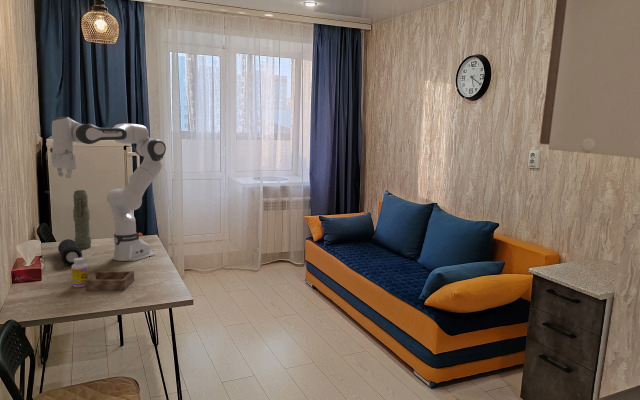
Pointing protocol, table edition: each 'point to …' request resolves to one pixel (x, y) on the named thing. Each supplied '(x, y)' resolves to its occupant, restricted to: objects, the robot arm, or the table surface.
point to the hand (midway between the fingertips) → (64, 177)
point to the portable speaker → (69, 251)
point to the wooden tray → (110, 280)
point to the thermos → (81, 219)
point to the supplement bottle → (79, 272)
